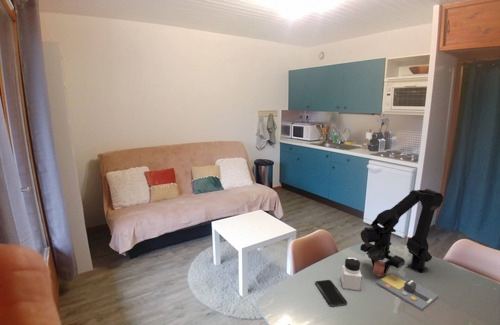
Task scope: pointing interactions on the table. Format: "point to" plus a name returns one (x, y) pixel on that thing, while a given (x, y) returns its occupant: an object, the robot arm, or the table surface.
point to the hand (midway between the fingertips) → (379, 270)
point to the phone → (330, 293)
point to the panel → (416, 298)
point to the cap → (379, 268)
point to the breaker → (410, 286)
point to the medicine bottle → (351, 274)
